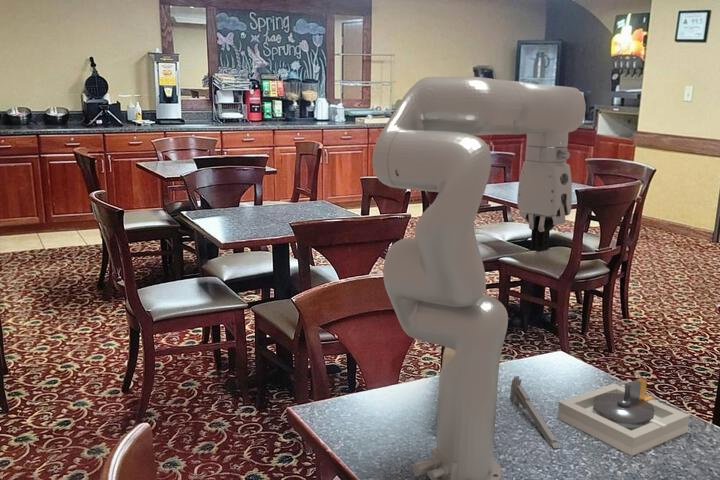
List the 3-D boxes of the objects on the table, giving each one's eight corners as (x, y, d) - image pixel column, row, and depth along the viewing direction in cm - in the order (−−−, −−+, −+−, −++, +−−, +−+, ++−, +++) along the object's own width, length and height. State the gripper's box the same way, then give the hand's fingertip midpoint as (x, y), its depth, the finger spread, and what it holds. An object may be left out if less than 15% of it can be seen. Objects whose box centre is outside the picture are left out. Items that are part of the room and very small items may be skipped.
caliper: (509, 401, 145) (511, 373, 144) (514, 401, 145) (516, 373, 144) (553, 450, 125) (556, 418, 124) (559, 449, 126) (561, 417, 124)
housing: (633, 457, 123) (636, 437, 122) (557, 418, 137) (559, 400, 136) (690, 432, 132) (693, 413, 132) (613, 398, 147) (615, 381, 146)
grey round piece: (629, 436, 127) (632, 403, 126) (580, 412, 136) (583, 381, 135) (665, 420, 133) (669, 389, 132) (617, 399, 142) (620, 369, 141)
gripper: (591, 158, 127) (583, 255, 131) (530, 151, 139) (524, 241, 143) (563, 160, 123) (555, 260, 127) (503, 153, 135) (497, 245, 139)
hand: (539, 250), depth 135 cm, fingers closed
